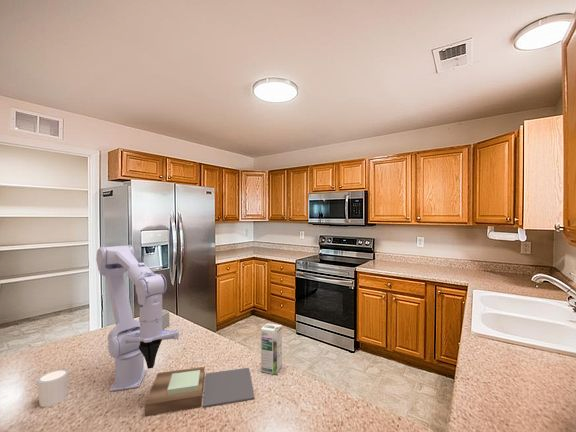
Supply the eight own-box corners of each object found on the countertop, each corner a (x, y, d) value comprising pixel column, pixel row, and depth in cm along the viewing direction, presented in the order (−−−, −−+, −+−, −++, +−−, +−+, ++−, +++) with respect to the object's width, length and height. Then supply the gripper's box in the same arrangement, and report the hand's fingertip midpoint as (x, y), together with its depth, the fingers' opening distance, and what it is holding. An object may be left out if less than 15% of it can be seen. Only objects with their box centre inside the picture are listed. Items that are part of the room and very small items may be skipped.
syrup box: (260, 372, 90) (260, 328, 90) (267, 363, 95) (267, 322, 96) (275, 375, 88) (275, 330, 88) (282, 366, 93) (282, 324, 94)
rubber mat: (206, 375, 88) (206, 373, 88) (248, 369, 92) (248, 367, 92) (202, 407, 73) (202, 405, 73) (254, 399, 76) (254, 397, 76)
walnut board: (157, 382, 84) (157, 372, 84) (204, 376, 88) (204, 366, 88) (144, 416, 70) (144, 404, 70) (201, 406, 73) (201, 395, 73)
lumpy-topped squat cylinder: (157, 333, 121) (157, 314, 121) (132, 331, 124) (132, 312, 124) (172, 325, 131) (172, 307, 131) (149, 323, 134) (149, 305, 134)
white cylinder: (52, 392, 80) (52, 368, 80) (74, 392, 80) (75, 368, 80) (29, 408, 73) (29, 382, 73) (54, 408, 73) (54, 382, 73)
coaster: (172, 378, 81) (172, 373, 81) (200, 374, 83) (200, 370, 83) (167, 395, 73) (167, 389, 73) (198, 390, 75) (198, 385, 75)
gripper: (117, 326, 71) (117, 378, 71) (176, 321, 74) (176, 370, 74) (126, 317, 78) (126, 364, 77) (180, 312, 81) (179, 357, 81)
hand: (151, 366), depth 76 cm, fingers closed
